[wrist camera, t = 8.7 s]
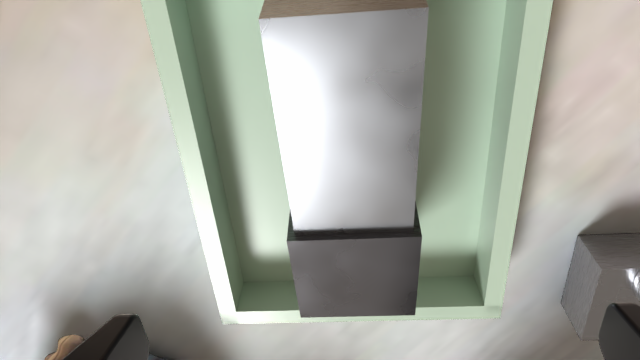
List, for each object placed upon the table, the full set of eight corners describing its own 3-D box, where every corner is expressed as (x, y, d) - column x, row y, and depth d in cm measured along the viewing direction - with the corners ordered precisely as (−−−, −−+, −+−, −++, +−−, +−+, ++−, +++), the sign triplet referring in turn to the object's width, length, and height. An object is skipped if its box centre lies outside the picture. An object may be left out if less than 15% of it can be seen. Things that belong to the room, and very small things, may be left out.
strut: (403, 230, 22) (414, 315, 18) (306, 234, 22) (300, 317, 19) (416, -46, 14) (441, 11, 11) (267, -35, 14) (246, 24, 11)
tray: (485, 279, 24) (500, 318, 22) (233, 286, 25) (222, 324, 23) (533, -74, 16) (564, -70, 14) (159, -44, 17) (131, -35, 15)
